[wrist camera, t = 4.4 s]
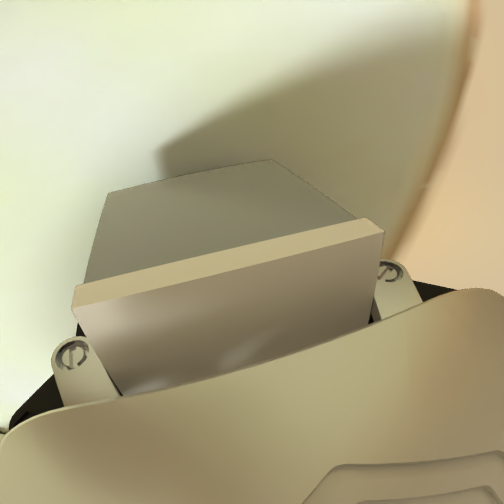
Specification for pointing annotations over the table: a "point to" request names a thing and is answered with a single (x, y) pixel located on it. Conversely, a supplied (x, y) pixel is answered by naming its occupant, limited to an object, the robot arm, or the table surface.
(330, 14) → the table surface
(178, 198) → the beige cube
